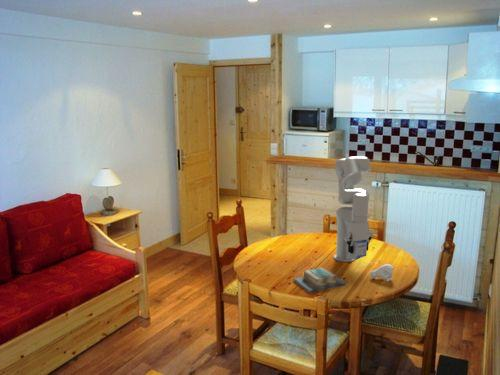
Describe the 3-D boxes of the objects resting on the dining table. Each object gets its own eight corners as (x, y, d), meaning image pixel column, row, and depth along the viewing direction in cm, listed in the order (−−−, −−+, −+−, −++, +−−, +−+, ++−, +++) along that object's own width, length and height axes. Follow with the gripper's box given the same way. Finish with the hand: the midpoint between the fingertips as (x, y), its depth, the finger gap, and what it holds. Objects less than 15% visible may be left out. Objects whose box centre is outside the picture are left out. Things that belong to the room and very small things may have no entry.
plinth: (328, 273, 252) (329, 263, 251) (346, 285, 238) (346, 274, 237) (293, 281, 244) (293, 270, 242) (309, 293, 229) (309, 282, 228)
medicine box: (356, 259, 227) (356, 243, 225) (349, 256, 231) (349, 240, 229) (366, 255, 232) (367, 239, 230) (359, 253, 235) (360, 237, 233)
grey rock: (393, 266, 238) (369, 267, 241) (394, 282, 240) (370, 282, 243) (392, 262, 244) (369, 262, 247) (393, 277, 246) (370, 277, 249)
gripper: (369, 214, 233) (367, 246, 237) (340, 218, 226) (339, 251, 230) (378, 217, 227) (376, 250, 231) (349, 222, 220) (348, 256, 224)
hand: (358, 251), depth 230 cm, fingers closed on medicine box, 8 cm apart
